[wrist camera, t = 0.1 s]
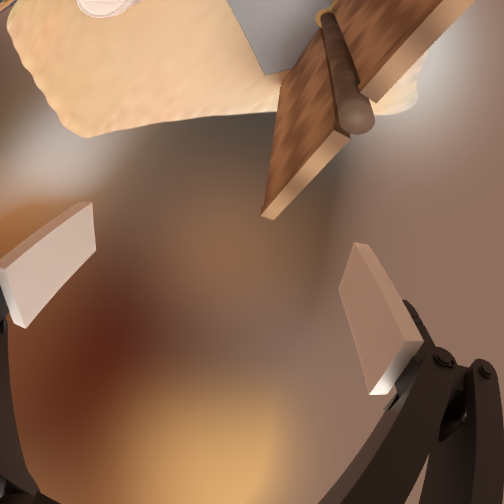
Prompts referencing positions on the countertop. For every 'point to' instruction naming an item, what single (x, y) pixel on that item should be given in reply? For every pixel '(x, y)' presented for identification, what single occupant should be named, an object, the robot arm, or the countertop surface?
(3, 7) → the juice carton
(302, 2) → the card
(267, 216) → the brown wooden board
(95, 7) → the beverage can
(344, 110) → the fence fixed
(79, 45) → the countertop surface
